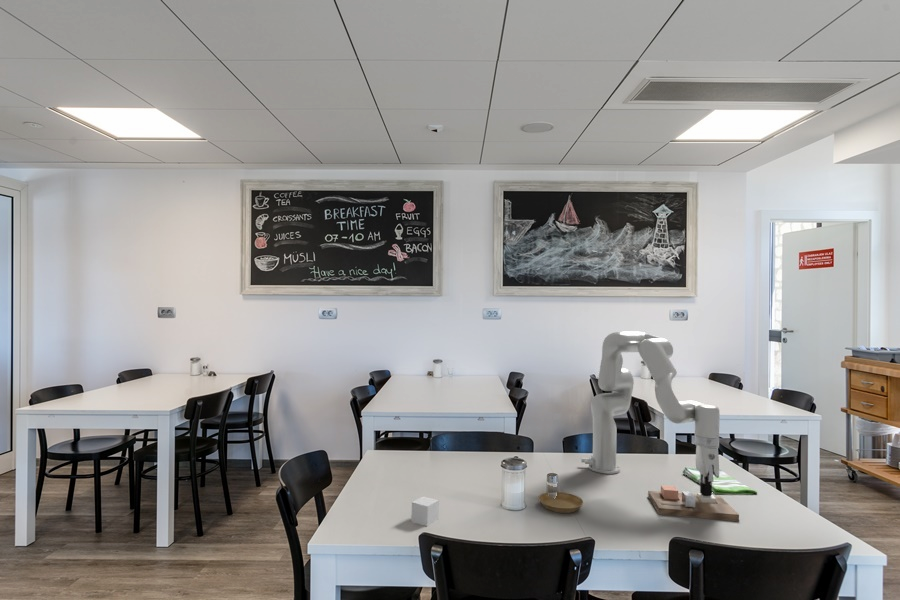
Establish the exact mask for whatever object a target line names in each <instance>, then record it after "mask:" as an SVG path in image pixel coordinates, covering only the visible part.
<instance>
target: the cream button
mask: <svg viewBox="0 0 900 600" xmlns="http://www.w3.org/2000/svg"><path fill="white" fill-rule="evenodd" d="M696 495H697V499H698V500H699V501H700V502H705V503H716V498H715V497H714V496H715V495H714V494H712V495H711V496H706V495H702V494H701V493H700V492H697V493H696Z"/></svg>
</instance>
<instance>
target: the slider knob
mask: <svg viewBox="0 0 900 600" xmlns="http://www.w3.org/2000/svg"><path fill="white" fill-rule="evenodd" d="M681 493H682V503H683V504H684V505H685V506H686V507H695V495H696V494H695V493H693V491H688V490H687V491H685V490H681ZM694 494H695V495H694Z"/></svg>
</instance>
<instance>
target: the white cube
mask: <svg viewBox="0 0 900 600" xmlns="http://www.w3.org/2000/svg"><path fill="white" fill-rule="evenodd" d="M439 501H440V500H439V499H435V498H431V497H427V496H424V495H423V496H421V497H419V498H417V499H415V500H413V501H411V516H410V517H411V523H415V524H418V525H422V526H425V527H429V526H430V525H432V524H434V523H435V522H436V521H438V520H439V504H440V503H439Z"/></svg>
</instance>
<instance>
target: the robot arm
mask: <svg viewBox="0 0 900 600" xmlns="http://www.w3.org/2000/svg"><path fill="white" fill-rule="evenodd" d="M623 353H639V355H640V356H639V357H641V359H642V361H643V363H644V364H645V367H646V368H647V369H648V371H649V373H650V375H651V377H652V378H653V380H654V393H655V394H654V396H655V399H656V401H657V404H658V406H659V407H660V410H661V411H662V413H663V415H664V416H665V417H666V418H667V419H668V420H669V421H670V422H671V423H674V424H685V423H691V422H694V442H693V443H694V445H695V447H696V448H695V468H697V470H698V471H699V472H700V481H701V482H700V485H699V486H700V487H699V488H700V489H699V493H701V494H702V495H706V496H711V495H713V493H712V482H713V475H714V476H715V477H716V478H718V477H719V469H720V456H719V450H718V449H719V448H720V409H719V407H718V406H716V405H713V404H708V403H707V404H706V403H703V402H698V401H695V400H693V399H692V400H690V399H688V400H678V398H677V397H676V395H675V393H674V391H673V387H672V381H673V379H674V378H675V377H676V376H677V375H678V374H677V373H678V372H677V369H676V368H675V366H674V365H673V363H672V361H671V360H670V358H671V357H672V356H673V354H674V346H673V345H672V343H671V342H670V341H669V340H668V339H666V338H664V337H661V336H657V335H653V334H650V333H646V332H643V331H624V330H623V331H615V332H611V333H609V334H608V335H606V337H605V338H604V340H603V341H602V347H601V360H600V366H599V370H598V371H599V373H598V377H597V378H598V379H597V384H598V387H599V389H601V391H605V392H603V393H599V394H596V395H595V396H593V397H592V399H591V401H590V410H591V411H590V412H591V416H592V455H591V456H590V457H588V458H587V457H581V458H580V461H581V463H584V464H585V465H586V464H587V465H588V469H589V470H590V471H593V472H595V473H599V474H606V475H607V474H608V475H612V474H614V475H615V474H618V473H620V472H621V468H620V466H619V465H617V437H618V436H617V423H616V422H615V419H614V417H615V416H620V415H624V414H626V413H628V411H629V409H630V406H631V403H632V397H633V396H632V395H633V391H634V383H635V382H634V381H635V380H634V376H633V374H632V372H631V371H630V370H629V369H627V368H625V367H623V365H624V363H623V362H624V360H623V356H622V354H623Z"/></svg>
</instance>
